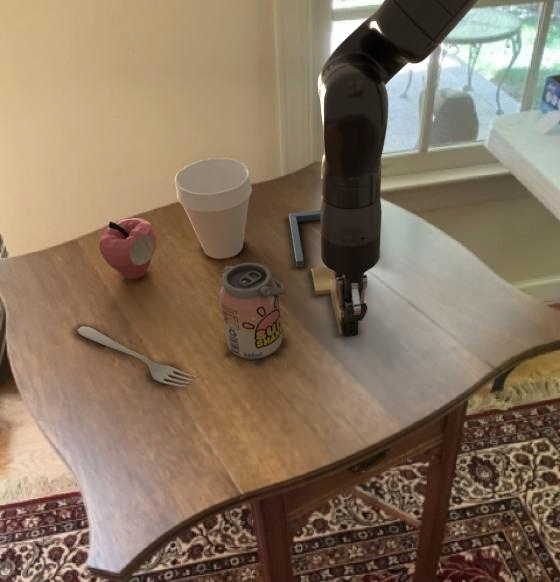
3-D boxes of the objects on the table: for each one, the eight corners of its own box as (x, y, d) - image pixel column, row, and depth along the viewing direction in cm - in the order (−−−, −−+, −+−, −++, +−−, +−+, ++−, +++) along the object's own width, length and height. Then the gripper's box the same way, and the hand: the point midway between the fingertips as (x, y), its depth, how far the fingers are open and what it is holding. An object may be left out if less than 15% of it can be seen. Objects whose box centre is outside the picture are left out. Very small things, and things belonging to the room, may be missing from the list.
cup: (218, 277, 108) (206, 203, 99) (174, 249, 115) (158, 178, 106) (272, 245, 114) (266, 172, 104) (227, 221, 121) (217, 150, 111)
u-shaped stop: (371, 260, 109) (371, 253, 108) (296, 267, 109) (296, 261, 108) (357, 212, 120) (357, 206, 119) (289, 219, 120) (288, 213, 119)
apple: (126, 295, 106) (111, 243, 100) (98, 274, 111) (82, 223, 104) (174, 269, 111) (162, 217, 104) (145, 250, 116) (132, 199, 109)
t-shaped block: (371, 331, 96) (372, 316, 94) (324, 336, 96) (323, 321, 94) (354, 268, 107) (354, 254, 106) (311, 272, 107) (311, 258, 105)
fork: (87, 323, 102) (84, 314, 101) (202, 384, 91) (200, 374, 89) (71, 334, 100) (68, 325, 99) (186, 398, 89) (184, 389, 88)
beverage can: (260, 314, 101) (252, 247, 92) (300, 337, 96) (296, 269, 88) (215, 345, 96) (203, 278, 88) (255, 371, 92) (246, 303, 83)
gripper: (391, 253, 77) (384, 361, 89) (371, 198, 87) (367, 302, 99) (327, 260, 77) (329, 367, 89) (314, 203, 87) (317, 307, 99)
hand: (349, 332), depth 94 cm, fingers closed
